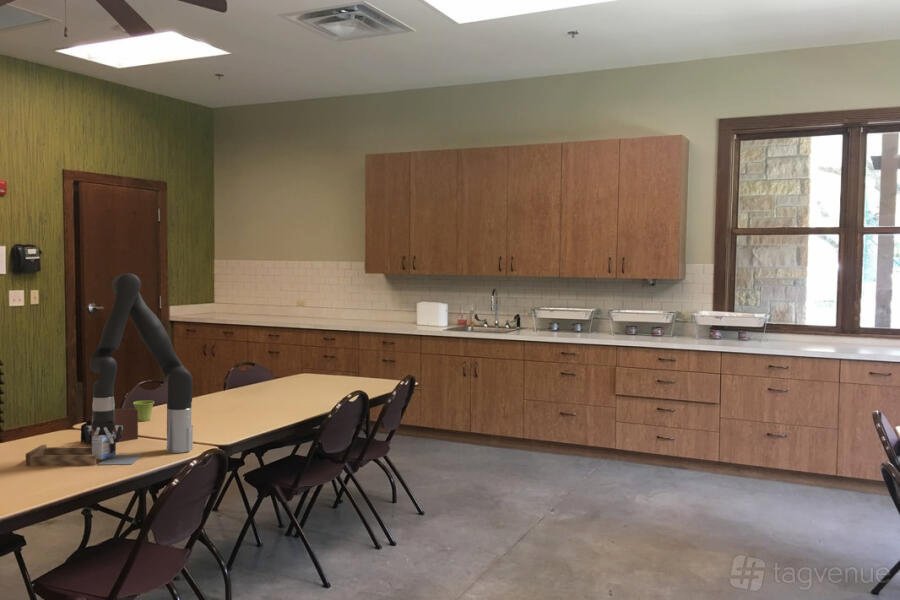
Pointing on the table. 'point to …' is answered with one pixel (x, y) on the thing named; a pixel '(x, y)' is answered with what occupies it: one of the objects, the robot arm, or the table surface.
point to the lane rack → (60, 456)
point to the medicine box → (101, 446)
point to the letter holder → (122, 417)
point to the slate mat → (120, 460)
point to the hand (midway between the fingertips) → (104, 452)
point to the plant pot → (144, 409)
